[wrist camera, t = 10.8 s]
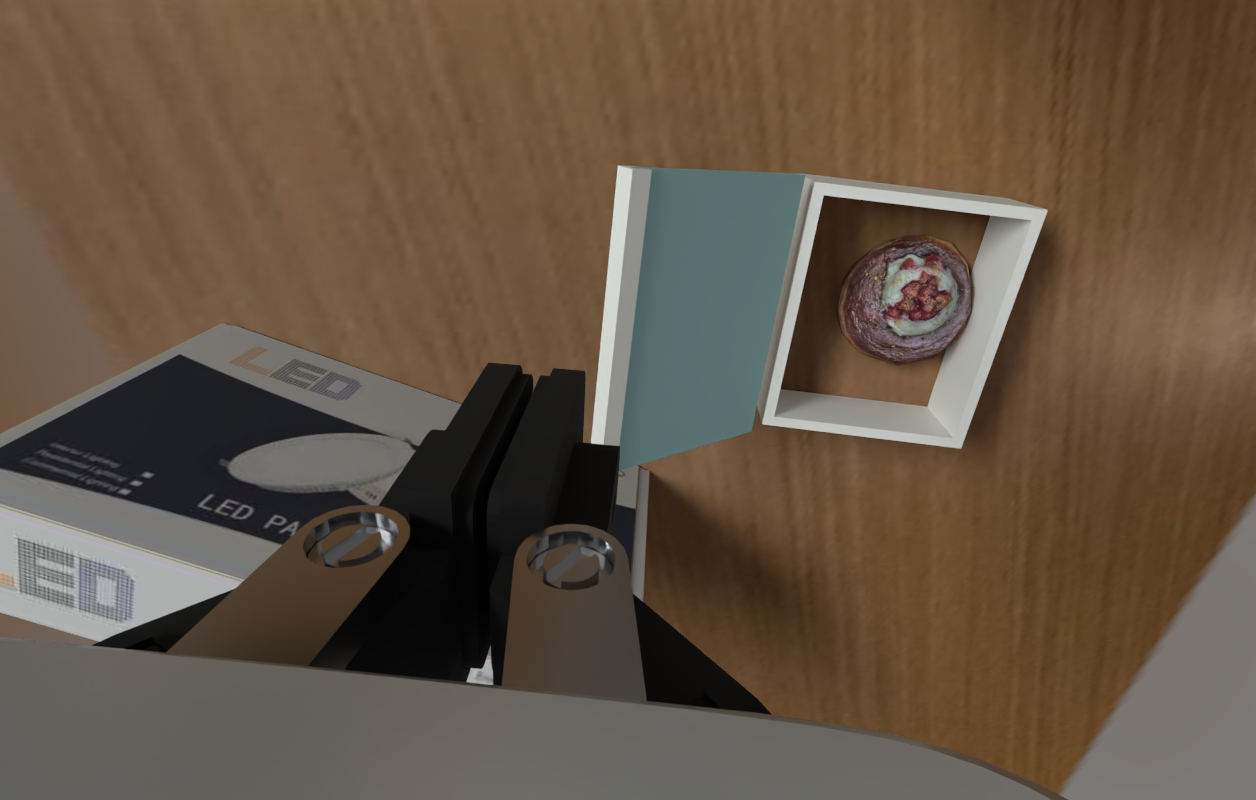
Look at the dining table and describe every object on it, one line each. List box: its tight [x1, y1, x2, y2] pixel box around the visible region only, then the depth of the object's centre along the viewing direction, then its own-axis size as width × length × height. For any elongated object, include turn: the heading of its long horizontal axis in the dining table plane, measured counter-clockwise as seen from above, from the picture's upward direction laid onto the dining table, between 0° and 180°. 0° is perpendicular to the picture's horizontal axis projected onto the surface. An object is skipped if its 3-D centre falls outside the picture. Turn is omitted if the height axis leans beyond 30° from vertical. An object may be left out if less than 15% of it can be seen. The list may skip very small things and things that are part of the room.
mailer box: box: [757, 173, 1048, 449], centre depth 39 cm, size 14×12×4 cm
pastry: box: [837, 236, 971, 366], centre depth 39 cm, size 8×8×5 cm
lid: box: [591, 166, 805, 471], centre depth 33 cm, size 15×11×1 cm
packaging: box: [0, 323, 650, 685], centre depth 37 cm, size 30×6×20 cm, turn 70°
